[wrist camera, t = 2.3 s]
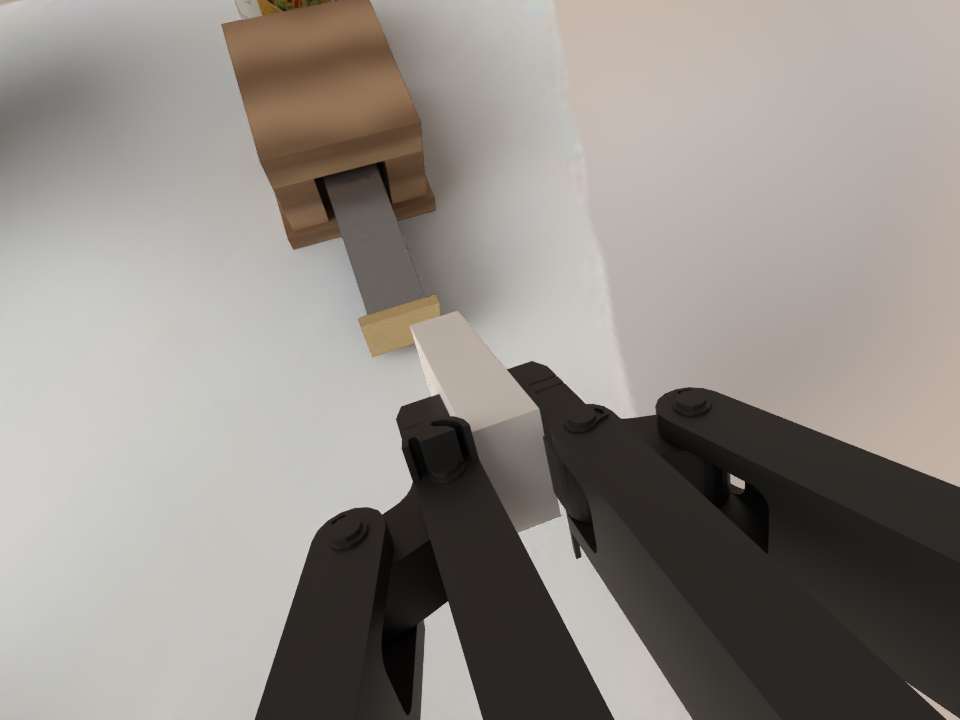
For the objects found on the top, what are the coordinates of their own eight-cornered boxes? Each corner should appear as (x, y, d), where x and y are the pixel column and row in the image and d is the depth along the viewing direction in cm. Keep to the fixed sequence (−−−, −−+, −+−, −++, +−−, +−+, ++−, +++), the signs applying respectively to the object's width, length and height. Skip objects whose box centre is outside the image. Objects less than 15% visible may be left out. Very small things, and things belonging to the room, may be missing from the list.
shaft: (441, 335, 36) (439, 302, 32) (372, 357, 36) (360, 327, 31) (358, 111, 43) (346, 59, 39) (298, 126, 42) (280, 74, 38)
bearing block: (435, 210, 41) (430, 126, 34) (293, 249, 40) (253, 170, 32) (386, 88, 46) (372, -12, 38) (255, 119, 44) (212, 20, 36)
